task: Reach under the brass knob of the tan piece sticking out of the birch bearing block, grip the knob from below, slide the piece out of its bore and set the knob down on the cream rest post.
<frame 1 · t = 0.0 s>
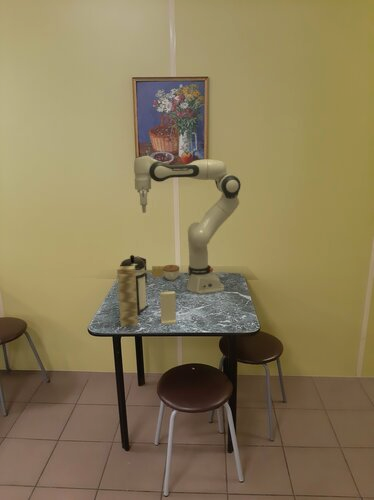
hand: (144, 210, 198), 48 cm above the table, tool pointing down, fingers open, 8 cm apart
tan piece: (157, 272, 168), point 25 cm above the table, touching birch bearing block
supplement box: (140, 282, 226), on the table
coffee press: (134, 310, 187), on the table
birch bearing block: (129, 323, 173), on the table
cream rest post: (168, 320, 176), on the table
lidded jar: (171, 279, 231), on the table
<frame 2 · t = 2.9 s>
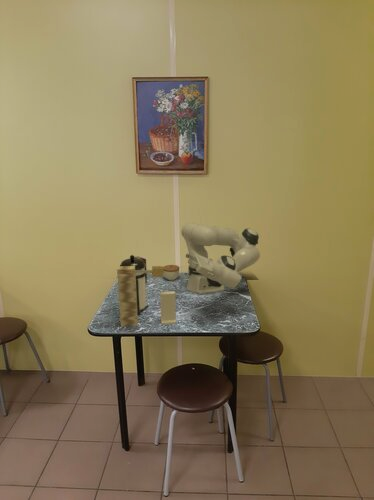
hand: (187, 257, 173), 30 cm above the table, tool pointing upward, fingers open, 8 cm apart
nothing on the table moved.
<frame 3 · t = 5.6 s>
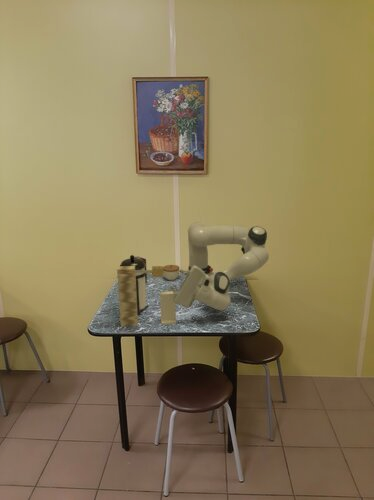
hand: (175, 279, 168), 22 cm above the table, tool pointing upward, fingers open, 8 cm apart
nothing on the table moved.
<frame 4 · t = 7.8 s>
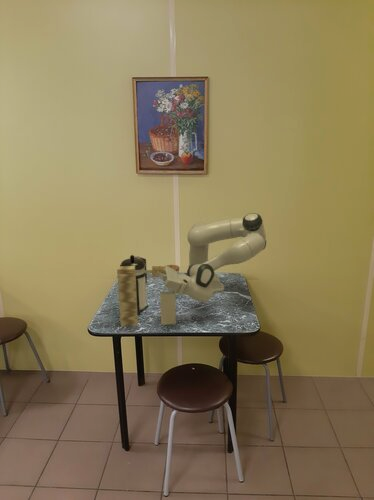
hand: (155, 270, 168), 26 cm above the table, tool pointing upward, fingers closed on tan piece, 4 cm apart
tan piece: (157, 272, 168), point 25 cm above the table, touching birch bearing block, gripper
everything else where it was.
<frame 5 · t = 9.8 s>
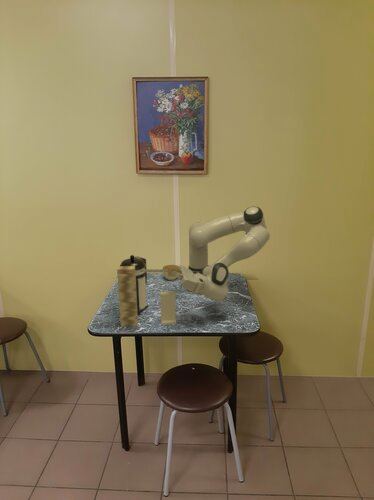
hand: (171, 269, 168), 26 cm above the table, tool pointing upward, fingers closed on tan piece, 4 cm apart
tan piece: (173, 271, 169), point 25 cm above the table, touching gripper
everything else where it was.
when the fingers open (18 cm above the table, at t = 11.9 s): tan piece stays where it is, resting on cream rest post.
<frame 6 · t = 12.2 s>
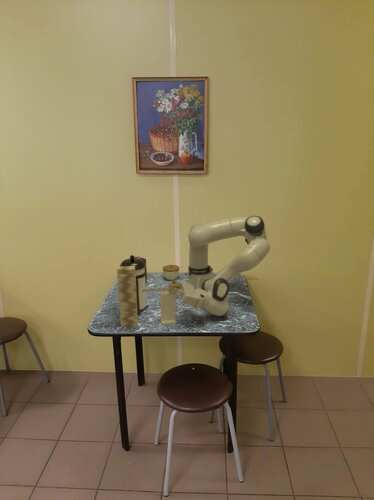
hand: (173, 285, 171), 18 cm above the table, tool pointing upward, fingers open, 7 cm apart
tan piece: (174, 289, 171), point 16 cm above the table, touching cream rest post
everything else where it was.
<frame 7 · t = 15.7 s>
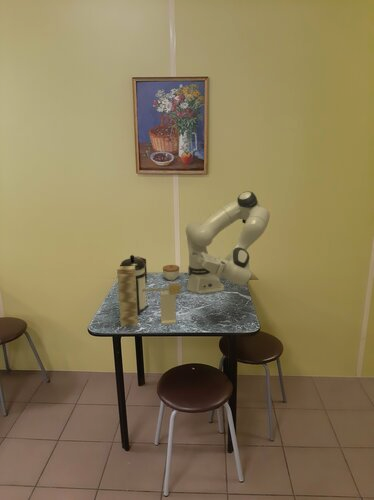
hand: (193, 254, 168), 33 cm above the table, tool pointing upward, fingers open, 8 cm apart
nothing on the table moved.
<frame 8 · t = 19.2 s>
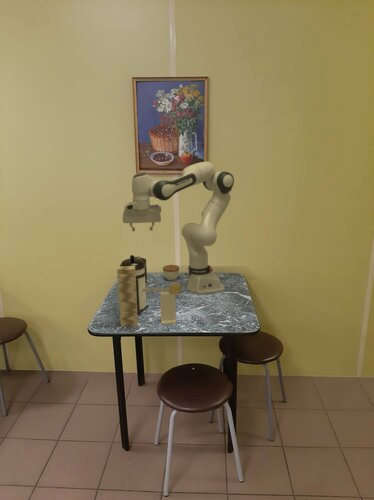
hand: (142, 230, 191), 39 cm above the table, tool pointing down, fingers open, 8 cm apart
nothing on the table moved.
at the end: tan piece inside the target area (0.6 cm from its centre), point 16.3 cm above the table; tan piece touching cream rest post; the gripper is holding nothing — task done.
